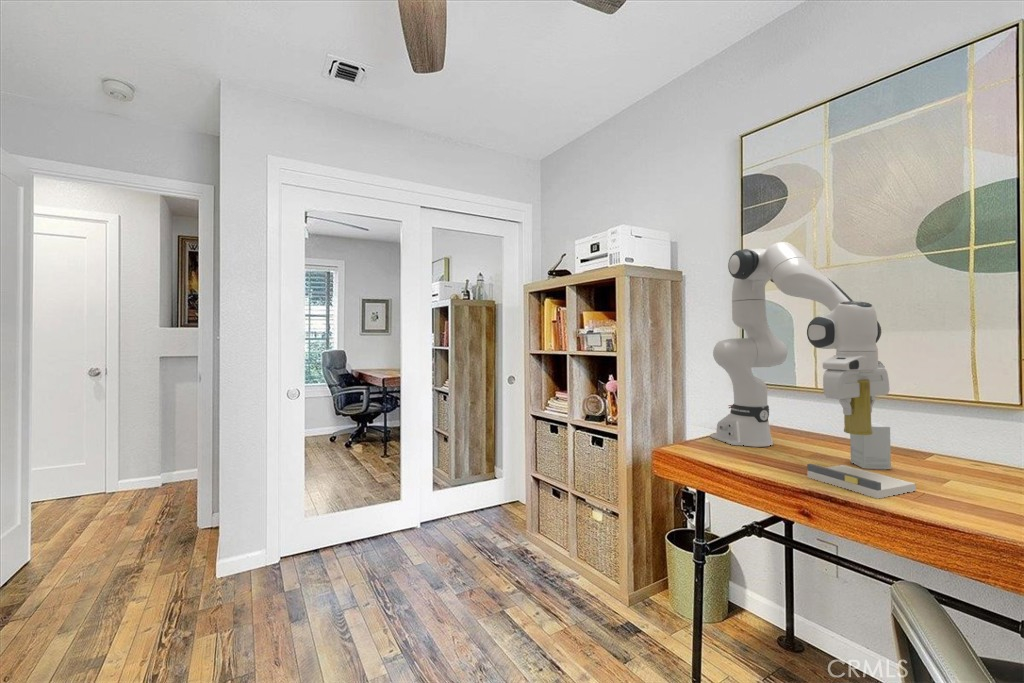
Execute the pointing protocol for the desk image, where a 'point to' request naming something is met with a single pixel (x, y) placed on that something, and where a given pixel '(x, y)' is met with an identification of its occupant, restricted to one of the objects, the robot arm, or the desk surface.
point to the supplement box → (872, 448)
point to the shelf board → (860, 480)
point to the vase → (860, 412)
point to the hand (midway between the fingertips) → (857, 413)
